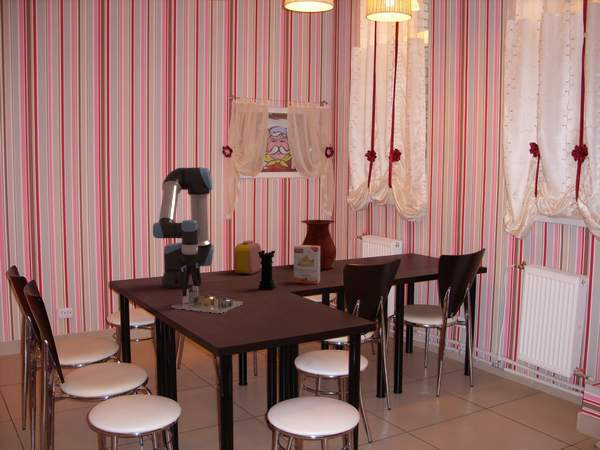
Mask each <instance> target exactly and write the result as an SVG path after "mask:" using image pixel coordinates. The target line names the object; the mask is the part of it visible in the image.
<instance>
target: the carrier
mask: <svg viewBox="0 0 600 450" xmlns="http://www.w3.org/2000/svg"><path fill="white" fill-rule="evenodd" d="M198 297H199V302H196V303H190V304H188V303H183V302H182V301H180V302H178V303H174V304H172V305H171V309H172V308H175V309H174V310H181V309H185V310H184V311H190V310H193V312H200V311H201V313H209V312H211V313H212V314H218V313H222V314H224V313H226V312H229V311H231V310H233V308H234V309H236V308H238V307H241V306H243V301H239V300H234V299H232V298H227V297H222V298H219V299H217V296H214V295H210V294H205V295H202V296H201V295H200V296H198ZM240 305H241V306H240ZM237 306H238V307H237ZM235 307H236V308H235ZM230 309H231V310H230ZM228 310H229V311H228ZM223 312H224V313H223ZM211 313H210V314H211Z"/></svg>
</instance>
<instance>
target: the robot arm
mask: <svg viewBox="0 0 600 450" xmlns="http://www.w3.org/2000/svg"><path fill="white" fill-rule="evenodd" d="M161 186H162V187H161V189H162V191H163V194H162V200H161V204H160V205H161V206H160V211H159V217H158V218H159V219H158V222H154V223H153V225H152V236H153V238H155V239H181V242H173V243H168V244H166V245H165V246H164V248H163V264H164V265H163V269H164V272H163V276H162V277H161V283H160V284H161V287H162V288H167V289H180V290H182V297H183V303H189V290H190V289H189V286H190V285H191V284H190V283H191V282H190V277H191V280H192V284H193V285H192V290H197V291H198V292H199V287H200V286H201V284H202V277H201V276H202V275H201V267H203V268H204V267H211V265H212V264H213V257H214V250H215V246H214V244H212V241H211V240H210V239H209V227H208V226H209V225H208V221H209V220H208V217H209V215H208V196H209V194H210V193H211V191H212V190H213V178H212V173H211V171H210V169H209V168H208V167H201V166H200V167H177V168H175V169H173V170H172V171H170V172H169V173H168V174H167V175H166V176H165V178H164V180H163V182H162V185H161ZM181 191H187V194H188V195H189V196H190V212H191V213H190V217H191V219H185V220H181V222H175V221H176V215H177V214H176V213H177V207H178V201H179V199H178V198H179V194H180V193H181Z"/></svg>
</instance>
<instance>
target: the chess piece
mask: <svg viewBox="0 0 600 450" xmlns="http://www.w3.org/2000/svg"><path fill="white" fill-rule="evenodd" d="M275 253H276V250H270V251H269V252H266V250H264V249H263V250H262V249H261V252H258V254H259V258H261V262H260V264H261V267H260V270H261V271H260V273H261V274H260V276H261V277H260V278H261V279H260V281H259V282H258V287H257V291H274V290H275V289H276V288H277V286H276V283H275V280H274V279H273V264H274V261H273V258H275Z"/></svg>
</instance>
